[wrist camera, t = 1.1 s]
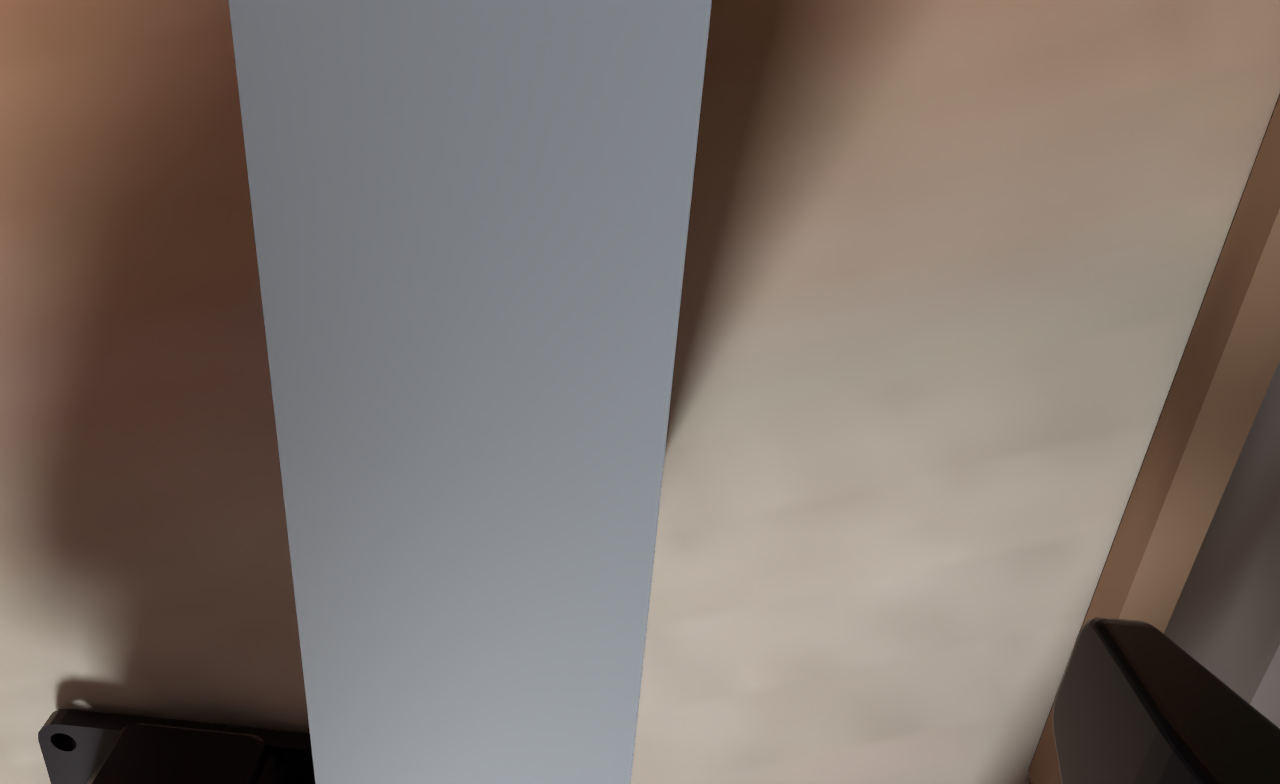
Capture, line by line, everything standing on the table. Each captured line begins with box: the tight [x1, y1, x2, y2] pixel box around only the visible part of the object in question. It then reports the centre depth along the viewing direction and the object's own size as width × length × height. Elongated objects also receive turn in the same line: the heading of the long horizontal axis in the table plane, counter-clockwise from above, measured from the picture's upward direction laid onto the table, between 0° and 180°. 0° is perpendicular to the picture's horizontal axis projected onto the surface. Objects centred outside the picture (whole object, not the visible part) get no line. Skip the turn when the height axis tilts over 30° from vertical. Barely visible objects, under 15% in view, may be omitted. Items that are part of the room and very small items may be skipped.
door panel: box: [229, 0, 712, 784], centre depth 12 cm, size 10×3×9 cm, turn 176°
